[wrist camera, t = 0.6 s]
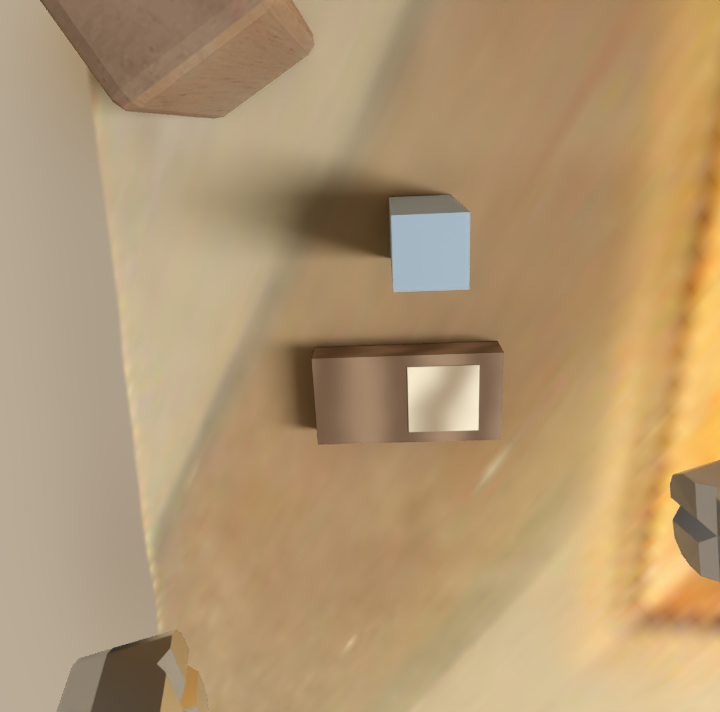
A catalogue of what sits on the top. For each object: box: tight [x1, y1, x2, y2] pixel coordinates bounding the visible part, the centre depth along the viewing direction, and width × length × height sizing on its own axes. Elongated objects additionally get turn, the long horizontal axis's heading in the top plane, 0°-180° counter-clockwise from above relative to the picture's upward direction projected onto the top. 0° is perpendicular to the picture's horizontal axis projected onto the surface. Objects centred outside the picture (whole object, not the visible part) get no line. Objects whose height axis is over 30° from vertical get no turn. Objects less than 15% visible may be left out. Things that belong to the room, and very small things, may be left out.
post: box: [389, 195, 470, 292], centre depth 47 cm, size 5×5×12 cm
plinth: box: [312, 341, 504, 444], centre depth 56 cm, size 16×8×3 cm, turn 93°
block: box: [40, 0, 314, 118], centre depth 39 cm, size 10×10×20 cm
